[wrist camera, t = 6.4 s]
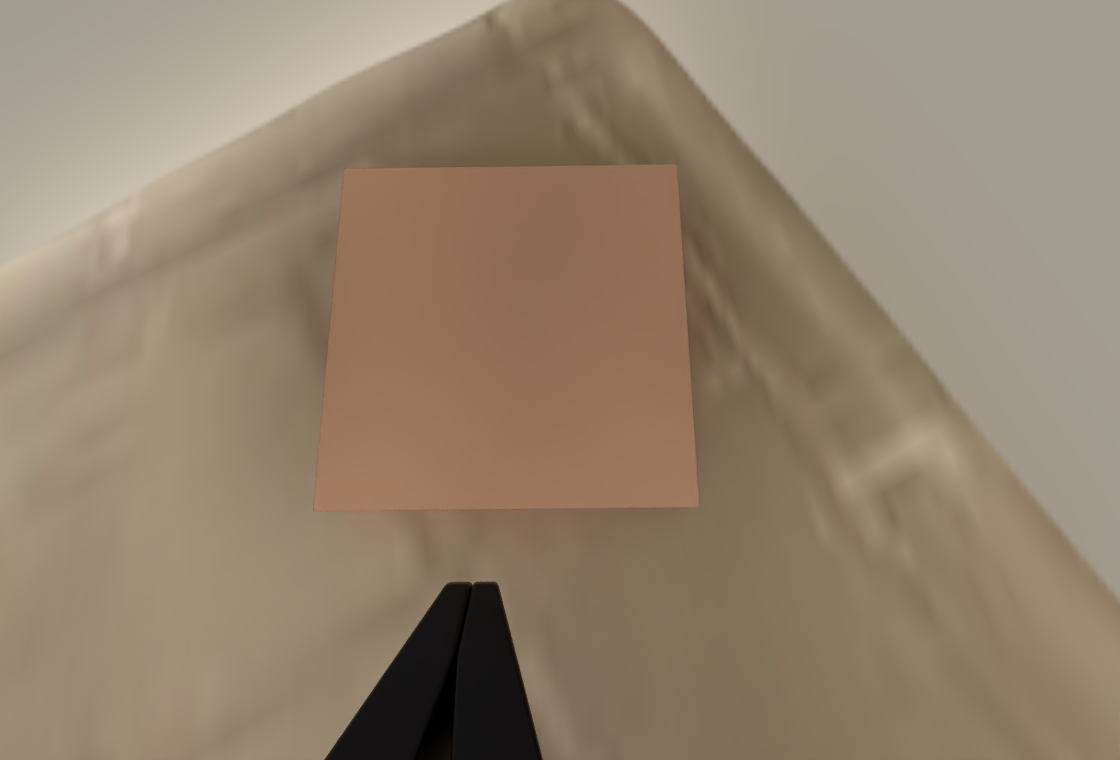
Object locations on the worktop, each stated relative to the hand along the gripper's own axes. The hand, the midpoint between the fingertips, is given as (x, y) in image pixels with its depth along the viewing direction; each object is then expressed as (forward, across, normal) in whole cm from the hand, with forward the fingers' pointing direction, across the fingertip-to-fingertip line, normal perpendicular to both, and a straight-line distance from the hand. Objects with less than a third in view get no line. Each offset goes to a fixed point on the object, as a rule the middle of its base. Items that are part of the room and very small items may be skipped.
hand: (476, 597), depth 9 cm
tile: (+5, 0, +3) cm, 6 cm away
